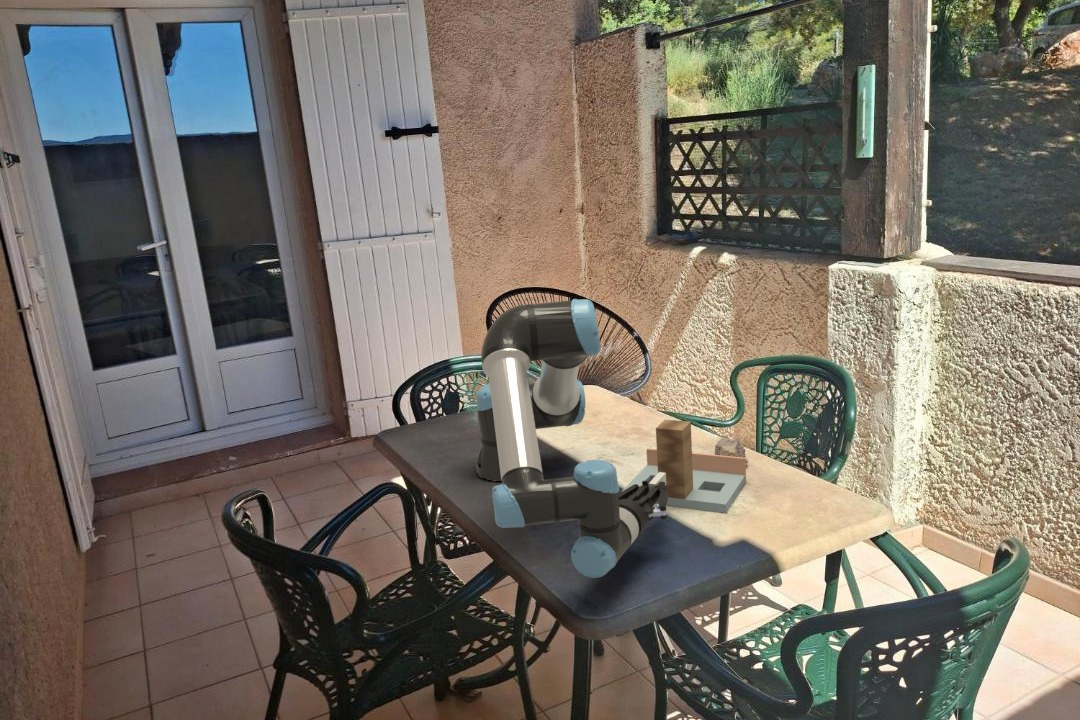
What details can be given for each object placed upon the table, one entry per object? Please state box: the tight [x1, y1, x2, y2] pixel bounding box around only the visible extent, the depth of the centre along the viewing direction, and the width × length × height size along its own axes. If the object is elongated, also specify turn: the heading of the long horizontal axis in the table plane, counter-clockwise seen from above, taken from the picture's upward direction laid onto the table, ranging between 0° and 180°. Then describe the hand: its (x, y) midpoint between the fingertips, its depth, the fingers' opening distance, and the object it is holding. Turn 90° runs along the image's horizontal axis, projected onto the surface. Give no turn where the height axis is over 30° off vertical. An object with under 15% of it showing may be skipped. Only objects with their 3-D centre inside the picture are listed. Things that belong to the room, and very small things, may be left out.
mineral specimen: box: [714, 437, 749, 464], centre depth 200 cm, size 13×7×6 cm, turn 5°
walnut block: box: [655, 419, 693, 499], centre depth 181 cm, size 6×6×16 cm
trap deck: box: [621, 447, 747, 514], centre depth 188 cm, size 24×18×6 cm
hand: (662, 478), depth 174 cm, fingers closed
